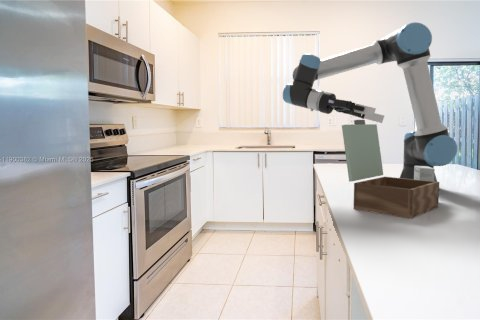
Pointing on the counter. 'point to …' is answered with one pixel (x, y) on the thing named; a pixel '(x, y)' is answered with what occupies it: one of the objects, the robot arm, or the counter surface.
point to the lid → (362, 150)
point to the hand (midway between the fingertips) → (379, 116)
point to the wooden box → (396, 196)
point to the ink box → (424, 173)
